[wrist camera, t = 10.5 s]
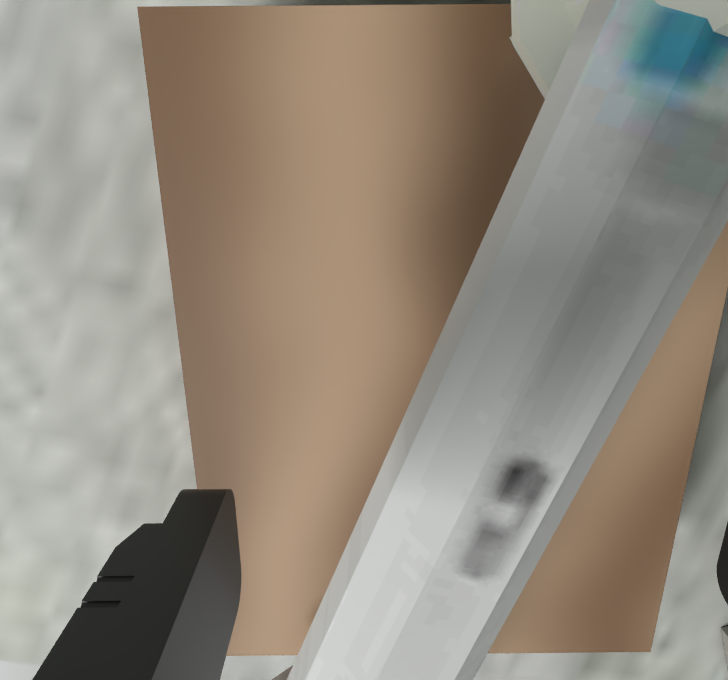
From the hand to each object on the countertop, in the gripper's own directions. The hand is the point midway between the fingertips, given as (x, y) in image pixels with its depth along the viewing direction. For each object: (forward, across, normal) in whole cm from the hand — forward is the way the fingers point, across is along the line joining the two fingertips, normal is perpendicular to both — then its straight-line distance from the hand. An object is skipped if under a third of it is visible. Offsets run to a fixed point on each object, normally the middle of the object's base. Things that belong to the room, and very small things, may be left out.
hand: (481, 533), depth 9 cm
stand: (+9, 0, 0) cm, 9 cm away
